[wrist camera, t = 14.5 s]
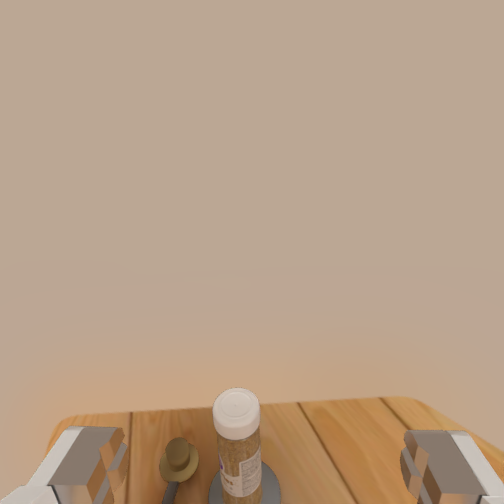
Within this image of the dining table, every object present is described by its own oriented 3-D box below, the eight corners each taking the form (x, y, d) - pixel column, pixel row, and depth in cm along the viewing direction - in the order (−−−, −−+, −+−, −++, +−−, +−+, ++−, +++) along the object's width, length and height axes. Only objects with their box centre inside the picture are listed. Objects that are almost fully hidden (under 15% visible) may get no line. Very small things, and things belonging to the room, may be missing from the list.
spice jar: (215, 490, 34) (203, 399, 29) (248, 466, 36) (243, 378, 32) (236, 530, 31) (227, 434, 26) (272, 500, 33) (269, 408, 28)
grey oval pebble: (279, 464, 38) (279, 458, 37) (282, 545, 30) (282, 538, 30) (215, 463, 38) (214, 456, 38) (203, 543, 31) (201, 536, 30)
